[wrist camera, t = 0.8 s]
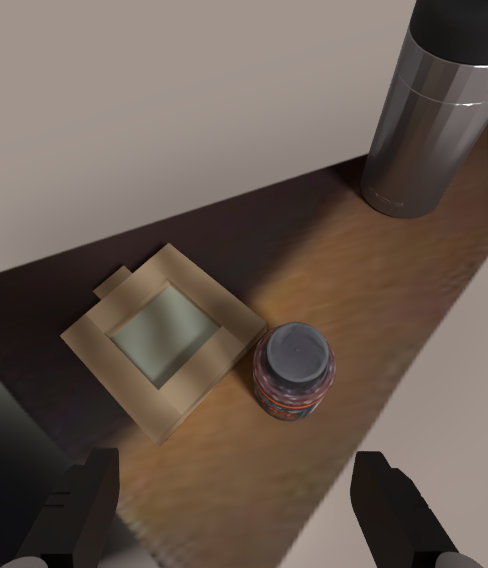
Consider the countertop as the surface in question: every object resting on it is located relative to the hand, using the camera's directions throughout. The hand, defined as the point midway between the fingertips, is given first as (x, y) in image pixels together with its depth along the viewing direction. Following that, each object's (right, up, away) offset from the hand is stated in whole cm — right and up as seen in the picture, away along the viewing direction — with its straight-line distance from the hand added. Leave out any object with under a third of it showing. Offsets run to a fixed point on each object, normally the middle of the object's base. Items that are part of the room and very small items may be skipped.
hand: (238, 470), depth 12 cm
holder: (-7, +1, +24) cm, 25 cm away
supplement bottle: (+4, -3, +21) cm, 22 cm away
